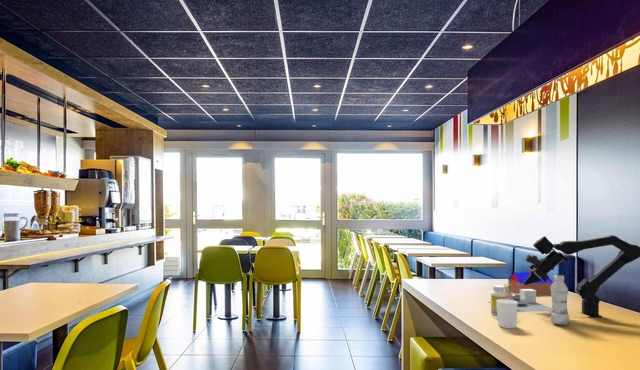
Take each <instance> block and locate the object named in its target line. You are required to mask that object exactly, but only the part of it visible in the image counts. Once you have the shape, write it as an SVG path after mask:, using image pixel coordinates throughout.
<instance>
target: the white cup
mask: <svg viewBox="0 0 640 370" xmlns="http://www.w3.org/2000/svg"><path fill="white" fill-rule="evenodd" d="M496 303H497V314H496V315H497V316H496V317H497V326H498V327H500V326H501V328H504V329H505V328H506V329H516V328H517V321H518V312H517V301H514V300H508V299H498V300H496Z"/></svg>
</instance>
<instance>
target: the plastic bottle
mask: <svg viewBox="0 0 640 370" xmlns="http://www.w3.org/2000/svg"><path fill="white" fill-rule="evenodd" d="M553 280H554V281H552V282H553V283H552V285H551V287H550V290H551V294H550V297H551V303H552V304H551V308H552V311H551V314H550V320H551V322H552V324H554V325H558V326H567V325H568V324H569V322H570V317H569V311H568V294H569V293H568V292H569V287H568V286H567V284H566V283H565V282H564V281H565V276H564V275H561V274H554V275H553Z"/></svg>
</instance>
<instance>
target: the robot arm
mask: <svg viewBox="0 0 640 370" xmlns="http://www.w3.org/2000/svg"><path fill="white" fill-rule="evenodd" d="M607 246H613V247H615V248H616V249H618V250H619V252H618V253H617V255H616V257H615V258H613V260H611V261H610V262H609V263H608V264H607V265H605V267H603V268H602V269H600V271H598V272H597V273H595V275H594V276H592V277H591V278H590V279H587V278H583V279H582V280H581V281H580V282H579V283H577V286H576V288H575V291H576V292H575V293H577V294H578V296H580V298H581V314H582V315H585V316H587V317H589V318H602V317H603V315H600V309H599V308H600V307H599V306H600V305H599V303H600V301H601V298H599V297H598V296H597V295H596V293H598V291H599V289H600V287H601V285H603V284H604V283H605V282H606V281H608V280H609V279H610V278H611V277H612V276H614V275H615V274H616V273H617V272H618V271H619V270H621V269H622V268H623V267H624V266H625V265H627V264H630V263H632V262H634V261H636V260H637V259H639V258H640V246H639V245H636V244H632V243H629V242H627V241H625V240H622V239H621V238H619V237H618V236H617V235H616V236H615V235H607V236H602V237H598V238H590V239H584V240H564V241H563V240H562V241H561V242H559V243H552V242H551V241H550V240H549V239H548V238H547V236H543V237H541V238H539V239H537V240H536V241H535V242H534V243H533V244H532V247H534V248H535V249H536V250H537V251H538V252H539V253H540V254H541V255H544V254H545V257H544V258H543V257H542V258H540V259H539V258H538V256H537V255H534V254H533V255H531V254H527V255H526V257H525V259H524V261H525V262H527V263H530V265H528V268H529V272H530V274H529V276H528V277H527V279H526V280H525V282H524V285H528V284H531V283H535V282H538V281H542V280H543V281H545V282H546V281H547V280H548V276H549V275H548V274H549V273H550V272H551V271H554V270H555V267H557V266H558V265H559V264H560V263H561V262H565V263H569V261H568V259H569V257H568V256H567V255H573V254H576V253H579V252H581V251H583V250H588V249H596V248H600V247H607ZM556 250H557V251H558V252H557V251H556ZM564 254H565V255H566V256H565V255H564ZM547 275H548V276H547ZM541 279H542V280H541Z"/></svg>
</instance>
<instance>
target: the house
mask: <svg viewBox="0 0 640 370" xmlns="http://www.w3.org/2000/svg"><path fill="white" fill-rule="evenodd" d="M529 274H530V271H529V272H513V273H512V274H511V275H510V276H509V278H507V281H508V282H507V284H509V285H511V294H519V295H520V289H533V290H536V296H538V295H539V296H541V295H551V290H550V287H551V285H552V283H553V282H554V281H552V279H551V278H550V276H549V275H548V274H547V276H548V280H547V281H546V282H545V281H543V280H542V279H541V280H542V281H538V282H535V283H531V284H528V285H524V282H525V280H526V279H527V277H528V276H529Z"/></svg>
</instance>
